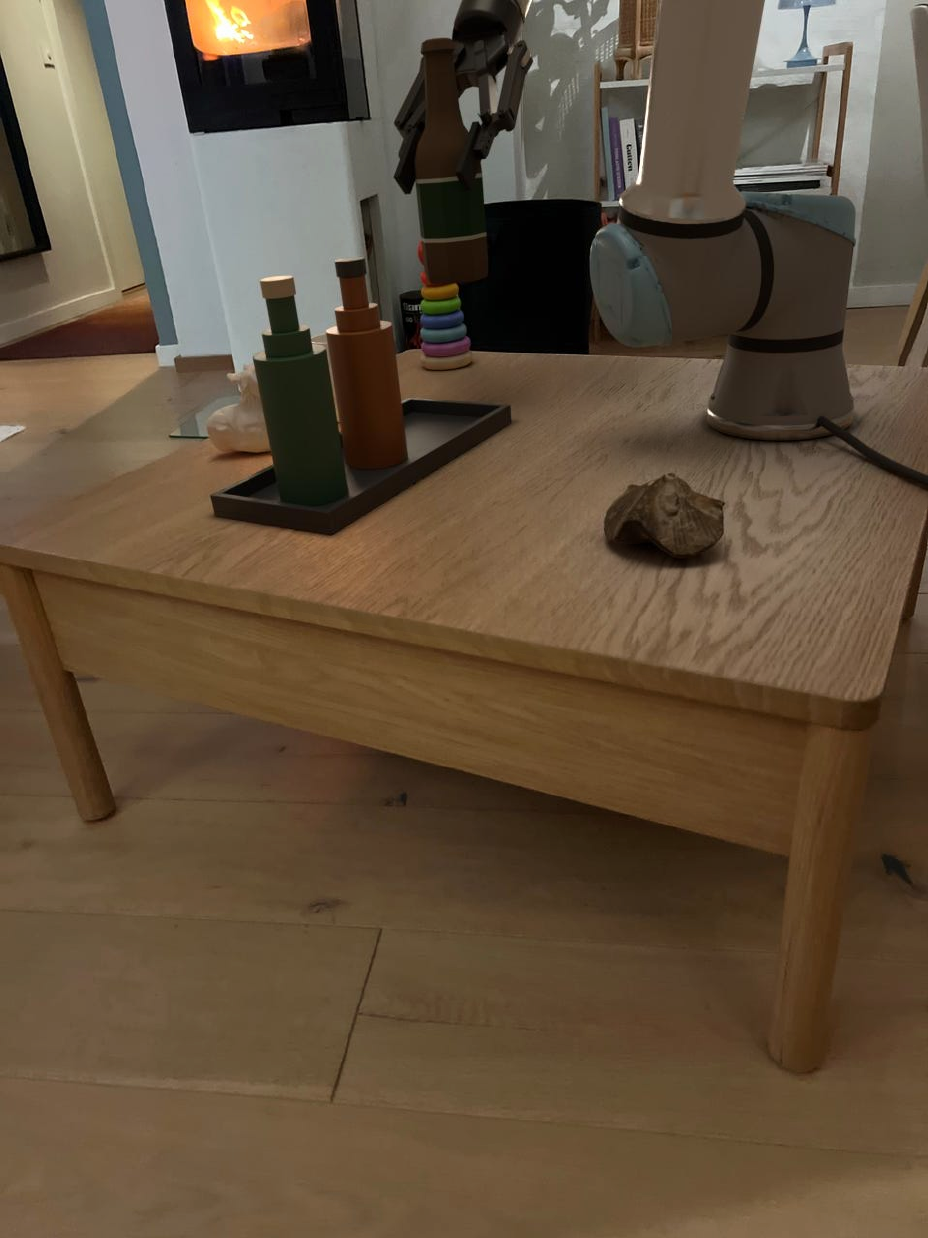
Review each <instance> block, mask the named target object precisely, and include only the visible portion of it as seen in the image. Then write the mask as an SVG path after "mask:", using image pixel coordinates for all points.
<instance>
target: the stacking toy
mask: <svg viewBox="0 0 928 1238" xmlns="http://www.w3.org/2000/svg"><path fill="white" fill-rule="evenodd" d="M417 258H418V260H419V262H420V264H421V265H422V266H423V267H424V263H423V253H422V243H421V240H420V241H419V243H418V244H417ZM420 281H421V283H422V284H424V286H422V288H421V290H420V291H421V292H420V293H421V296H422V298H423V300H421V302H420V309H421V311H422V314H421V315H420V323H421V324H420V325H422V327H421V329H420V337H421V340H423V341H422V343H421V345H420V349H421V351H422V353H423V354H421V356H420V364H421V366H422V367H423V368H424V369H428V370H431V371H446V370H453V369H459V368H462V367H465V366H467V365H469V364H471V362H472V361H473V357H474V355H473V352H472V351H471V350H470V347H471V344H472V343H471V339H470V338H469V336H467V333H468V332H467V331H468V330H467V326H466V324H464V323H463V322H464V318H465V315H464V313H463V311H462V310H461V309H460V308H461V306H462V301H461V298H460V297H459V296H457V295H458V294H459V291H460V290H459V289H460V288H459V286H458V283H455V284H431V283H430V282H428V280H427V279H426V276H425V269H424V270H423V271H422V272H421V273H420Z"/></svg>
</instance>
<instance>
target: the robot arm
mask: <svg viewBox="0 0 928 1238" xmlns="http://www.w3.org/2000/svg"><path fill="white" fill-rule="evenodd" d="M532 1H533V0H461V1H460V3H459V7H458V9H457V12H456V15H455V18H454V20H453V24H452V30H451V39H452V40H453V43H454V46H455V50H454V51H453V60H454V68H455V75H456V83H457V91H458V99H459V100H460V98H461V97H462V96H463V94H464V92H465V91H466V90H468V89H471V88H478V100H479V102H478V103H479V105H478V106H479V112H477V116H478V118H479V119H480V121H479V120H477V121H472V122H471V124H470V128H469V130H468V132H469V133H468V136H467V139H466V142H465V144H464V147H463V150H462V153H461V156H460V159H459V161H458V164H457V167H456V170H455V174H456V176H457V178H458V179H459V181H460V183H461V184H462V186H463V188H464V189H465V191H466V190H471V189H472V186H473V183H474V180H475V177H476V175H477V172H478V169H479V166H480V163H481V164H482V160H486V159H487V158H488V156H489V155H490V152H491V148H492V146H493V144H494V140H495V138H497V137H498V136H499V134H500V132H503V131H504V130H505V132H507V133H510V132H512V131H514V129H515V128H516V125H517V120H518V115H519V110H520V104H521V100H522V96H523V90H524V86H525V81H526V77H527V74H528V72H529V71H530V69H531V67H532V65H533V64H534V58H533V56H532V54H531V52H530V49H529V46H528V44H527V42H526V41H525V39H521V40H520V37H521V35H522V31H523V28H524V25H525V22H526V19H527V16H528V14H529V10H530V8H531V5H532ZM765 2H766V0H657V5H656V14H655V21H654V31H653V32H654V33H653V41H652V49H651V50H652V51H651V58H650V69H649V77H648V85H647V95H646V103H645V112H644V121H643V131H642V140H641V149H640V158H639V168H638V174H637V175H638V176H637V178H636V179H635V180H634V181H633V182H632V183H631V184H630V185H629V186H628V187H627V188H625V190H624V191H622V192H621V193H620V195H619V201H618V202H619V204H618V213H617V219H616V223H615V222H610V223H608V224H606V225H605V226H603V227H601V228H600V229H599V230H598V231H597V232H596V234H595V237H594V238H593V240H592V242H591V247H590V253H589V274H590V277H589V278H590V283H591V288H592V293H593V298H594V301H595V305H596V307H597V310H598V312H599V313H598V314H599V315H600V316H599V317H600V318H601V320H602V322H603V324H604V326H605V327H606V329H607V330H608V333H610V335H611V336H612V337H613V338H614V339H615V340H616V341H617V342H619V343H620V344H621V345H624V346H625V347H629V348H634V349H635V348H637V349H638V348H645V347H646V348H647V347H654V346H656V347H667V346H669V345H671V344H676V343H682V342H687V341H694V340H700V339H705V338H711V337H716V336H722V335H727V347H726V354H725V356H724V359H723V360H722V364H721V367H720V370H719V372H718V375H717V378H716V381H715V385H714V388H713V392H712V393H711V394H710V396H709V399H708V402H707V403H708V404H707V407H706V408H707V409H706V410H707V411H706V423H707V424H708V426H710V427H711V428H712V429H714V430H716V431H718V432H720V433H723V434H726V435H730V436H733V437H736V438H737V437H739V438H743V439H751V440H761V441H762V440H763V441H799V440H809V439H815V438H816V439H817V438H821V437H826V436H830V435H834V436H835V437H836V438H838V439H840V440H841V441H843V442H845V443H846V444H847V445H848V446H850V447H851V448H853V449H854V450H855V451H857V452H858V453H860V454H861V455H863V456H864V457H866V459H869V460H870V461H872V462H873V463H876V464H877V465H879V466H881V467H883V468H884V469H887V470H888V471H891V472H893V473H894V474H897V475H899V476H901V477H903V478H906V479H909V480H911V481H913V482H915V483H917V484H919V485H922V486H925V487H927V488H928V474H925V473H923V472H921V471H918V470H915V469H913V468H911V467H908V466H906V465H903V464H902V463H900V462H897V461H896V460H893V459H892V458H890V457H887V456H885V455H884V454H882V453H880V452H878V451H877V450H876V449H873V448H872V447H870V446H868V445H867V444H866V443H864V441H861V440H860V439H859V438H857V437H856V436H854V435H853V434H851V433H850V432H849V431H848V430H845V429H847V428H848V427H850V426H851V424H852V423H853V417H854V409H855V404H854V397H853V395H852V393H851V388H850V381H849V377H848V370H847V366H846V361H845V357H844V352H843V343H844V334H845V333H844V332H845V325H846V315H847V307H848V297H849V291H850V290H849V289H850V283H851V273H852V266H853V257H854V251H855V250H854V249H855V247H856V244H857V239H856V238H855V235H856V234H855V232H856V231H855V230H856V217H857V215H856V213H857V211H856V207H855V205H854V203H853V201H852V200H851V199H850V198H848V197H847V196H843V195H830V194H812V193H811V194H810V193H789V192H788V193H787V192H786V193H785V192H766V191H765V192H760V191H739V190H738V188H737V187H736V185H735V183H734V178H735V173H736V168H737V162H738V156H739V151H740V146H741V145H740V144H741V139H742V134H743V128H744V122H745V116H746V110H747V105H748V100H749V93H750V87H751V82H752V77H753V70H754V65H755V60H756V54H757V49H758V43H759V37H760V30H761V25H762V20H763V14H764V9H765V4H766V3H765ZM419 63H420V64H419V70H418V73H417V75H416V77H415V79H414V81H413V83H412V85H411V87H410V88H409V91H408V93H407V95H406V97H405V99H404V101H403V102H402V105H401V107H400V109H399V111H398V113H397V114H396V117H395V119H394V121H393V125H394V127H395V129H396V130H397V132H398V133H399V135H400V136H401V138H402V141H401V145H400V147H399V151H398V152H397V153H398V155H397V156H398V159H399V161H398V163H397V166H396V169H395V172H394V174H393V179H394V180H395V182H396V184H397V185H398V186H399V188H400V190H401V191H402V192H403V194H404V195H411V194H412V191H413V188H414V186H415V184H416V183H415V162H414V161H415V156H416V151H417V145H418V143H419V141H420V138H421V136H422V134H423V132H424V129H425V120H426V99H425V74H424V56H423V55H422V57H421V59H420V62H419ZM504 68H505V70H504ZM503 70H504V75H503V81H502V83H501V89H500V94H499V99H498V91H499V86H498V76H499V75H498V74H499V73H501V72H502V71H503ZM480 122H481V123H480Z"/></svg>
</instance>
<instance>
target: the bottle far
mask: <svg viewBox="0 0 928 1238" xmlns="http://www.w3.org/2000/svg"><path fill="white" fill-rule="evenodd" d="M259 285H260V290H261V295H262V299H264V300H265V306H266V310H267V315H268V322H269V327H270V328H268V329H266V330H263V331H262V332H261V338H262V344H263V349H264V350H261V351H259V352H257V353H255V354H254V355H252V361H253V363H254V367H255V373H256V378H257V383H258V388H259V393H260V398H261V403H262V409H263V414H264V419H265V424H266V429H267V434H268V440H269V445H270V450H271V451H270V454H271V459H272V460H271V461H272V464H273V465H274V470H275V476H276V481H277V486H278V491H279V496H280V500H281V502H283V503H290V504H297V505H304V506H316V505H322V504H326V503H329V502H332V501H335V500H337V499H339V498H341V497H343V496H344V495H345V494H346V493H347V491H348V486H347V480H346V473H345V467H344V461H343V454H342V448H341V441H340V435H339V432H340V430H339V429H340V428H339V422H337V416H336V409H335V403H334V396H333V390H332V383H331V377H330V370H329V364H328V358H327V351H326V348H325V347H324V346H322V345H316V344H312V339H311V338H312V333H311V328H310V326H308V325H303V324H300V322H299V316H298V309H297V303H296V298H295V295H296V294H297V290H296V285H295V278H294V276H293V275H275V276H268V277H263V278H260V279H259Z"/></svg>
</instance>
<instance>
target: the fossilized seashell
mask: <svg viewBox="0 0 928 1238" xmlns="http://www.w3.org/2000/svg"><path fill="white" fill-rule="evenodd" d="M725 505H726V502H725V501H723V500H721V499H716V498H714V497H709V496H707V495H704V494H702V493H699V492H696V491H694V490H693V489H692V487H691V486H690V485H689V484H688V482H686V481H685V480H684V479H683V478H681V477H680V476H678V475H677V474H675V473H674V472H665V473H663V474H662V475H661V476H659V477H657V478H654V479H652V480H650V481H647V482H645V483H643V484H641V485H638V484H634V483H633V484H629V485H628V486H627V488H626V489H625V491H624V492H623V493H622V494H621V495H619V496H618V497H617V498H616V499H615V500H613V502H611V505H610V506H609V507H608V509H607V510H606V512H605V517H604V520H603V532H604V536H605V538H606V540H607V541H608V542H611V543H619V544H621V543H622V544H627V545H628V544H629V545H634V544H635V545H636V544H649V543H652V544H654V545H655V546H656V547H657V548H659V549H660V550H661V551H663V552H665V553H666V554H668V555H670V556H671V557H672V558H675V559H688V558H691V557H695V556H698V555H701V554H703V553H704V552H706V551H708V550H709V549H711V548H712V547H714V546H715V545H716V544H717V543H718V542H719V541H720V540H721V539H722V538H723V536H724V534H725V524H724V521H725V516H724V510H723V507H724V506H725Z"/></svg>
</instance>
